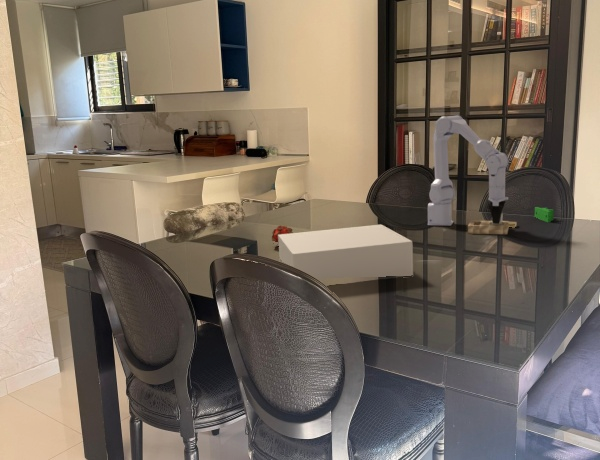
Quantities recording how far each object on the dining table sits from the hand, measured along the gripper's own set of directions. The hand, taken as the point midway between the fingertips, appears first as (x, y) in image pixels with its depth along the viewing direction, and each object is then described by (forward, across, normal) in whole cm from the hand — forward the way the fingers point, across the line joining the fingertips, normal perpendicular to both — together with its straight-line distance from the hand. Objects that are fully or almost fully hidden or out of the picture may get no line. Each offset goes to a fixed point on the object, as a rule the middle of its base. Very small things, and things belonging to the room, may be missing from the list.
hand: (496, 221), depth 214 cm
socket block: (+4, 0, +3) cm, 5 cm away
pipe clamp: (+4, +25, -17) cm, 30 cm away
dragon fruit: (+4, -35, +73) cm, 81 cm away
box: (+4, -62, +41) cm, 74 cm away
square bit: (+4, 0, 0) cm, 4 cm away
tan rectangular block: (+4, +9, -4) cm, 10 cm away
